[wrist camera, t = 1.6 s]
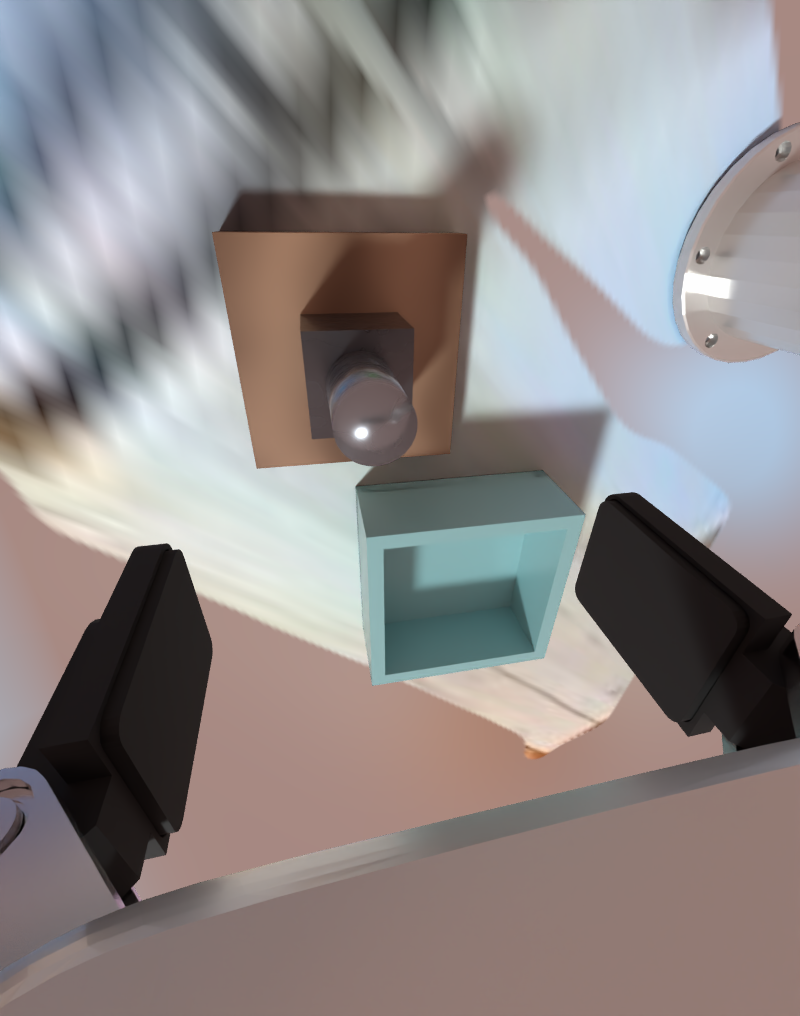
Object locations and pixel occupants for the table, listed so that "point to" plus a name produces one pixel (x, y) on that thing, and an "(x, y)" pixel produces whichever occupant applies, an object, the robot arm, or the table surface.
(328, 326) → the square base knob
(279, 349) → the stud plate
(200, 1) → the table surface
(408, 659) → the bin
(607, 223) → the table surface
